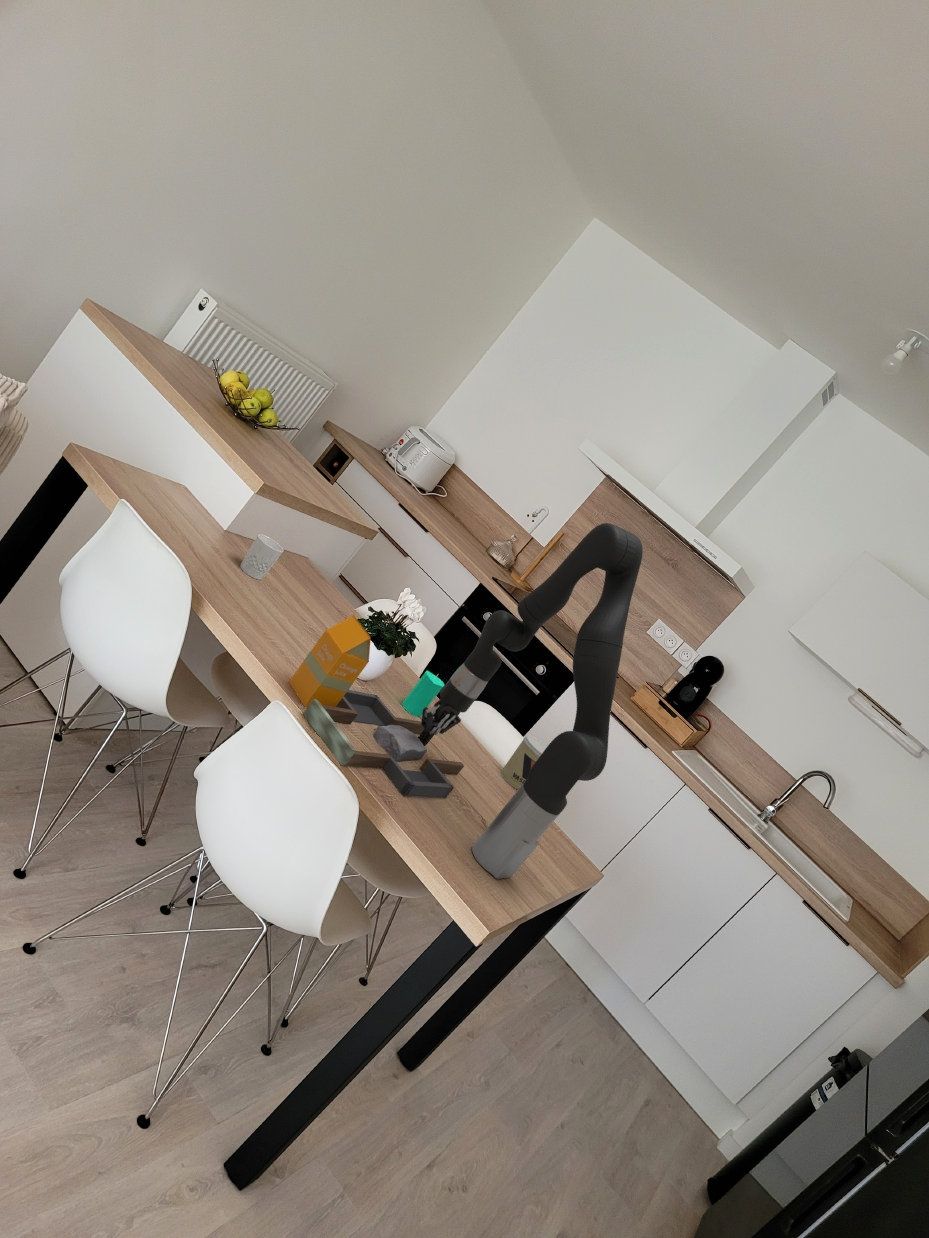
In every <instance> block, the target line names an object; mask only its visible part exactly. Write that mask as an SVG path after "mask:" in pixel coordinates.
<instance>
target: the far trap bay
mask: <svg viewBox="0 0 929 1238" xmlns="http://www.w3.org/2000/svg"><path fill="white" fill-rule="evenodd" d="M336 707H338V708H344V709H350V710H355V711H356V712H357V713H358V715H357V716H356V718H355V719H354V720H353V722H354V723H361V724H368V725H374V726H378V727H379V726H385V725H386V724H387V723H388V721H389V720H390V719H391V717H396V716H395V715H394V713H393V712H392V711H391V710H390V709H389V708H388V707H387V705H385V703H384V702H383V701H382V699H381V698H380V696H378V695H377V694H372V693H368V692H363V691H358V690H353V689H349V690H348V691H347V693H346V694H345V695H344V696H343V698H342V699H341V700H340V702H339V703H338V704H337V706H336ZM353 722H352V723H353Z"/></svg>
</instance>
